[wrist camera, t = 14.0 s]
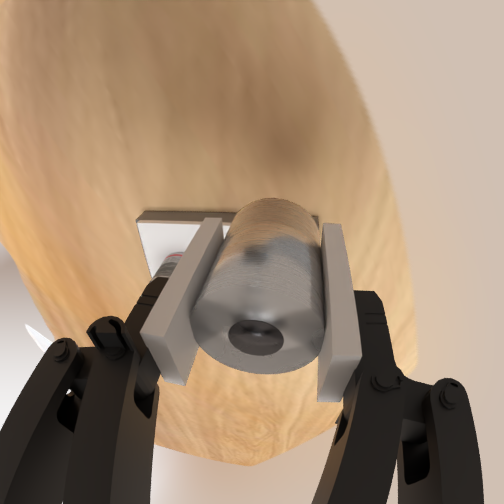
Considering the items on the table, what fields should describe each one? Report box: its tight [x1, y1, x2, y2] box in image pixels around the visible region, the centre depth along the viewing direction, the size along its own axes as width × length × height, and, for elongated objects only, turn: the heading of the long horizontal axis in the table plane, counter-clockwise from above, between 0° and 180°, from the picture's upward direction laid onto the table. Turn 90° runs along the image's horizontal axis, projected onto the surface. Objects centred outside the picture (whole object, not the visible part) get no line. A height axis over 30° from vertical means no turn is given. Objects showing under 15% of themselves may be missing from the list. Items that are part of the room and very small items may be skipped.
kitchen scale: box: [136, 211, 319, 278], centre depth 31 cm, size 14×18×3 cm
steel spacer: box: [190, 198, 325, 374], centre depth 11 cm, size 4×4×6 cm
